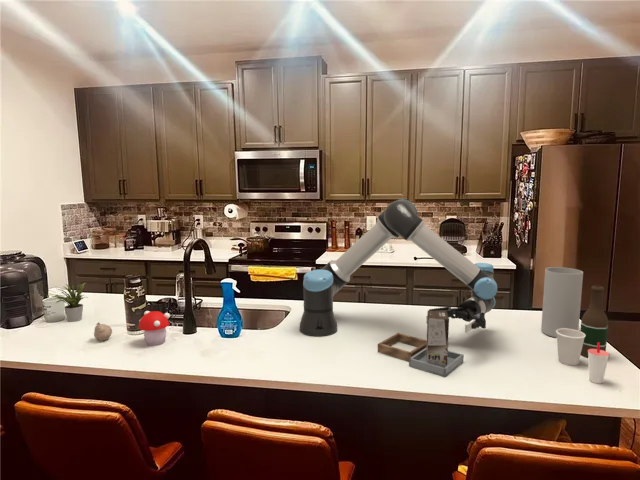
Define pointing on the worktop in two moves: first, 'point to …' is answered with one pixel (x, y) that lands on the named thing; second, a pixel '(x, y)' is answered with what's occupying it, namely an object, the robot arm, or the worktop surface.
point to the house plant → (72, 303)
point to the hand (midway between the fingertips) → (446, 324)
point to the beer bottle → (594, 323)
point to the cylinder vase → (561, 299)
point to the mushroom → (154, 327)
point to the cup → (597, 364)
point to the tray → (421, 363)
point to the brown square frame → (386, 349)
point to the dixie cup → (569, 345)
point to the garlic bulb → (102, 332)
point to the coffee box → (437, 338)
